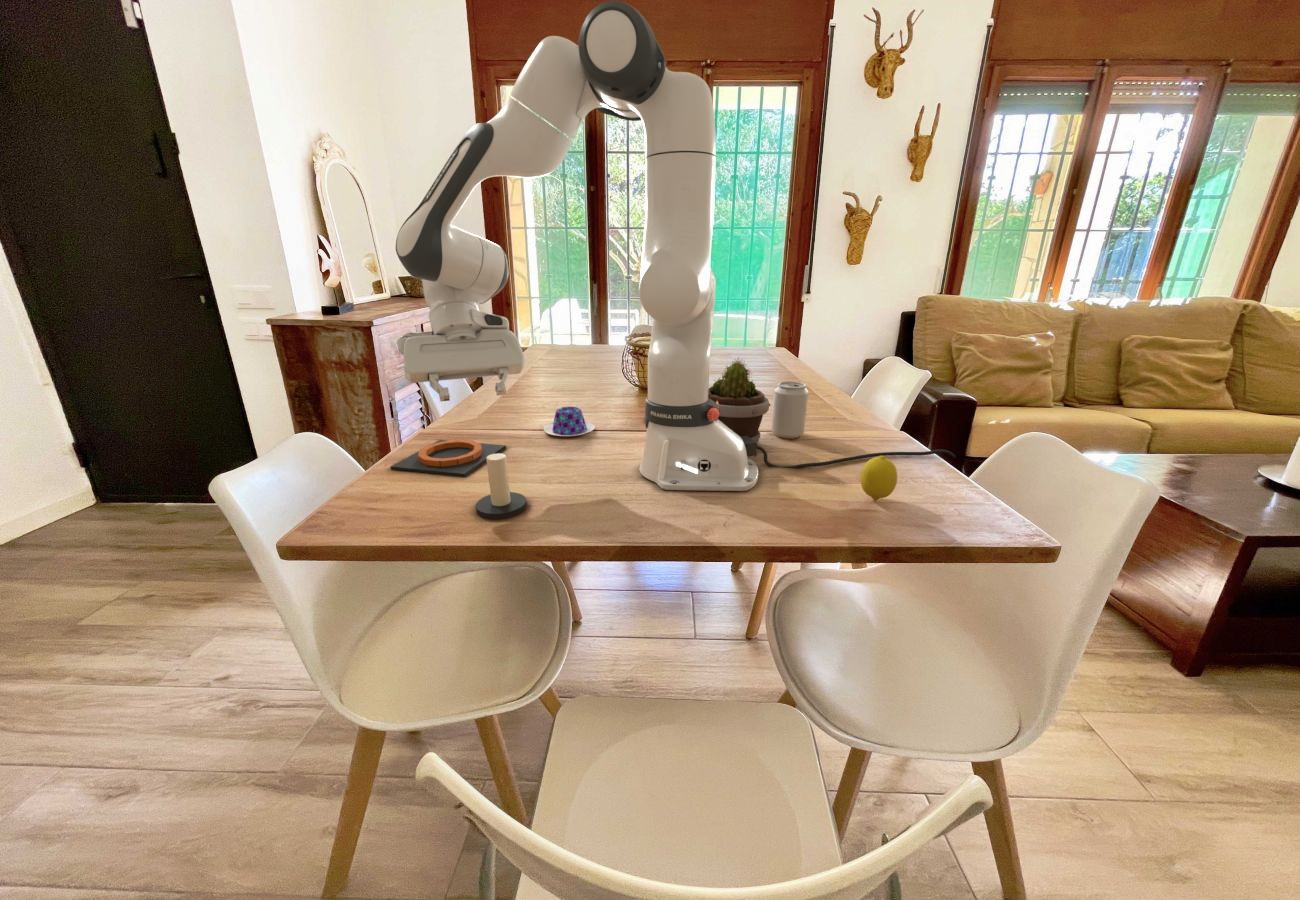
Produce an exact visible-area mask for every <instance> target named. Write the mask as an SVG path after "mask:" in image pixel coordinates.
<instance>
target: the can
mask: <svg viewBox="0 0 1300 900" xmlns="http://www.w3.org/2000/svg"><path fill="white" fill-rule="evenodd" d="M806 387H807V384H806V383H804V382H800V381H792V380H785V381H779V382H778V383H777V387H775V388H774V390H773V401H772V411H771V424H770V431H771V432H772V433H773V434H774V436H776V437H778V438H783V439H797V438H800V437H801V436H802V435H804V434H805V430H806V429H805V428H806V420H807V412H808V401H809V394H810V391H808V389H807V388H806Z"/></svg>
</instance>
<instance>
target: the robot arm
mask: <svg viewBox="0 0 1300 900" xmlns="http://www.w3.org/2000/svg"><path fill="white" fill-rule="evenodd" d="M578 37H579V38H578V44H576V43H575V42H573V41H572V40H570V39H568V38H566V37H563V36H560V35H559V36H558V35H549V36H546V37H545V38H543V39H542V40H540V42H539V43H538V44H537V46H536V47H535V49H534V50H533V52H532V53H531V54H530V56H529V58H528V59H527V61H526V62H525V64H524V66H523V68H522V69H521V71H520V73H519V75H518V77H517V78H516V81H515V82H514V85H513V87H512V89H511V92H510V94H509V96H508V98H507V100H506V102H505V103H504V105H503V107H502V108H501V109H500V111H498V113H496V115H495V116H494V117H492V118H491V119H490V120H489V121H486V122H477V123H475V124H473V125H472V126H471V128H469V129H468V130H467V132H466V133H465V134H464V135H463V137H462V138H461V139H460V141H459V143H457V145H456V146H455V148H454V149H453V151H452V153H451V154H450V155H449V157H448V158H447V160H446V162H445V163H444V165H443V167H442V169H441V170H440V171H439V173H438V175H437V176H436V178H435V179H434V180H433V182H432V184H431V186H430V187H429V189H428V191H427V192H426V194H425V195H424V196H423V199H422V200H421V202H420V203H419V204H418V206H416V208H415V209H414V211H412V213H411V214H410V215H408V217H407V218H406V219H405V220H404V222H403V223H402V225H401V226H400V228H399V231H398V232H397V235H396V239H395V253H396V256H397V257H398V259H399V262H400V263H401V264H402V266H403V268H404V269H405V270H406V271H407V273H408V274H409V275H410V276H411V277H413V278H416V279H419V280H421V284H422V290H423V296H424V301H425V303H426V306H427V307H428V309H429V314H428V317H429V318H428V319H429V323H430V328H431V330H430V331H429V330H428V331H420V332H419V331H418V332H412V331H409V332H405V333H404V334H403V335H400V336H399V337H398V338H397V341H396V344H397V350H398V352H399V354H401V355H402V356H403V369H404V376H405V379H406V380H407V381H409V382H410V383H412V384H417V383H428V382H429V386H430V388H431V389H432V390H433V391H435V392H436V394H438V397H439V401H440V402H447V401H448V402H449V401H451V395H450V391H449V387H448V386H447V387H443V386H442V385H441V384H440V383H439V381H440V382H441V381H449V380H450V381H451V380H463V379H473V378H486V377H498V380H500V382H495V385H494V390H495V392H496V396H505V395H506V394H507V388H506V383H507V380H508V376H509V375H520V374H521V373H522V371H523V370H524V367H525V364H526V363H525V362H526V359H525V355H524V351H523V349H522V346H521V344H520V341H519V339H518V338H517V335H516V334H515V333H514V332H513V331H512V330H510V321H509V319H508V318H507V317H505V316H501V315H497V314H493V313H488V312H485V311H481V310H479V306H480V305H484V304H485V303H487V302H488V301H490V300H491V299H492V298H494V297H495V296H496V295H498V294H499V293H500V292H501V291H502V290H503V289H504V288H505V286H506V285H507V282H508V279H509V264H508V263H509V262H508V259H507V255H506V252H505V251H504V249H503V248H502V246H500V245H499V244H497V243H494V242H493V241H490V240H488V239H486V238H484V237H481V236H480V235H477V234H473V233H471V232H469V231H466V230H464V229H461V228H459V227H457V226H455V225H452V223H453V222H454V220H455V219H456V217H457V216H458V214H459V213H460V211H461V209H462V208H463V206H464V205H465V204H466V202H467V200H468V199H469V197H470V195H471V194H472V193H473V191H474V189H476V187H477V186H478V185H479V184H480V183H481V182H483V181H484V180H485V181H486V179H489V178H494V177H514V178H522V179H535V178H541V177H545V176H548V175H550V174H551V173H553V172H556V170H557V169H558V168H559V167H560V166H561V164H562V163H563V161H564V160H565V158H566V156H567V155H568V152H569V150H570V148H571V146H572V145H573V141H574V139H575V137H576V135H577V133H578V131H579V129H580V127H581V125H582V123H583V122H584V120H585V118H586V117H587V115H588V114H589V113H590V112H591V111H593V110H595V109H597V111H598V112H599V113H601V114H604V115H608V116H611V117H614V118H617V119H621V120H625V121H628V122H629V121H630V122H639V121H641V122H642V126H643V131H644V159H645V161H644V162H645V163H644V165H645V167H644V168H645V171H644V173H645V222H644V223H645V224H644V231H643V232H644V233H643V239H642V240H643V242H642V252H641V268H640V279H639V285H638V296H639V301H640V303H641V306H642V308H643V310H644V311H645V312H646V313H647V315H648V316H650V317H651V318H652V325H651V332H650V333H651V334H650V341H649V348H648V352H647V398H645V403H644V423H645V429H646V433H645V442H644V448H643V454H642V458H641V461H640V465H639V467H638V469H639V473H640V474H641V476H642V477H644V478H645V479H647V480H649V481H651V482H654V483H656V485H657V486H659V487H660V489H662V490H666V491H704V492H705V491H707V492H708V491H709V492H710V491H714V492H719V491H720V492H747V491H749V490H751V489H752V488H753V487H755V486H756V484H757V482H758V480H759V468H758V465H757V463H756V462H754V461H753V460H752V459H750V457H757V452H758V451H760V452H761V453H762V455H763V462H764V464H765V465H766V466H768V467H770V468H783V469H802V468H813V467H821V466H822V467H824V466H828V465H835V464H840V463H845V462H850V461H855V460H856V461H857V460H862V459H867V458H875V457H879V456H885V457H887V456H929V455H935V454H946V455H948V456H949V457H950V458H953V459H955V458H956V455H955V454H954V453H953V452H952V451H949V450H946V449H935V450H928V451H885V452H884V451H883V452H871V453H866V454H860V455H855V456H847V457H843V458H837V459H832V460H831V459H830V460H826V461H820V462H807V463H799V464H794V465H788V466H787V465H786V466H785V465H784V466H781V465H776V464H773V463H771V462H770V461H768V460H769V459H768V451H766V449H765V448H763V447H762V446H760V445H758V442H756V441H754V440H753V439H751V438H749V437H748V436H741V437H740V436H739V435H737V434H736V433H735V432H733V431H732V430H731V429H730V428H728V427H727V426H726V425H725V424H723V423H722V422H721V421H720V420H718V417H719V414H720V412H719V405H718V404H719V403H718V401H716V403H715V402H714V401H712V400H711V399H709V398H708V390H709V388H710V386H709V385H710V364H711V363H710V362H711V351H712V339H713V328H714V315H715V303H716V286H717V284H716V283H717V282H716V276H715V273H714V271H713V269H712V267H711V258H712V257H711V255H712V241H713V231H714V230H713V228H714V219H715V209H716V208H715V205H716V169H717V168H716V166H717V165H716V163H717V162H716V160H717V137H716V121H715V120H716V119H715V112H714V104H713V97H712V91H711V89H710V87H709V85H708V83H707V81H705V79H703V78H702V77H701V76H699V75H697V74H695V73H692V72H688V71H672V70H670V69H668V68H667V58H666V55H665V53H664V52H663V50H662V48H661V45H660V44H659V42H658V40H657V38H656V36H655V33H654V31H653V29H652V27H651V25H650V24H649V22H648V21H647V19H646V18H645V16H643V14H642V13H641V12H640V11H639V10H638V9H636V8H635V7H633V6H632V5H631V4H629V3H627V2H624V1H620V0H608V1H605V2H602V3H600V4H598V5H596V6H595V7H594V8H593V9H591V11H590V12H589V13H588V15H587V16H586V17H585V19H584V21H583V23H582V26H581V28H580V31H579V35H578Z"/></svg>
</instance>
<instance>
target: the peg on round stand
mask: <svg viewBox="0 0 1300 900" xmlns="http://www.w3.org/2000/svg"><path fill="white" fill-rule="evenodd" d="M486 460H487V461H486V467H487V477H488V485H489V493H490V494H488V495H485V496H483V497H481V498H479V500H477V501H476V503H475V510H476V511H475V512H476V515H477V516H479V517H480V518H483V519H488V520H503V519H510V518H513V517H515V516H517V515H520V514H521V513H523V512H524V511H525V510H526V509H527V506H528V501H527V498H526V496H525V495H524V494H521V493H519V492H514V491H510V483H509V482H510V481H509V472H508V471H509V470H508V461H507V455H506V454H504V453H501V452H499V453H497V454H491V455H489V456H487V457H486Z"/></svg>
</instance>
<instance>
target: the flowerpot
mask: <svg viewBox="0 0 1300 900" xmlns="http://www.w3.org/2000/svg"><path fill="white" fill-rule="evenodd" d="M739 357H740V356H738V357H737V358H736V360H731V364H730V365H729V366H728V364H726V365H724V367H725V368H724V369H723V372H721V374H722V375H720V377H718V378H716V379H713V381H714V383H713V384H712V386H709V390H708V398H709V399H711V400H712V401H714V402H715V403H716V401H718V403H719V404H718V405H719V412H720V414H719V417H718V420H720V421H721V422H722V423H723V424H725V425H726V426H727V427H728V428H730V429H731V430H732V431H733V432H735V433H736V434H737V435H739V436H740V437H741V436H748V437H749V438H751V439H753V440H754V441H756V442H757V443H759V440H760V438H761V432H760V430H759V429H760V426H761V424H762V420H763V417H764V415H766V414H767V413H768V412H769V409H770V407H771V403H770V401H769V399H768V398H767V397H766V396H765V394H764V393H763V392H762V391H761V390H758V389H757V388H756V383H755V381H756V379H754V378H753V379H752V376H751V369H747V367H749V366H748V365H747V364H746V363H745V360H743V358H742V359H740V358H739ZM750 379H752V380H750Z"/></svg>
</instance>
